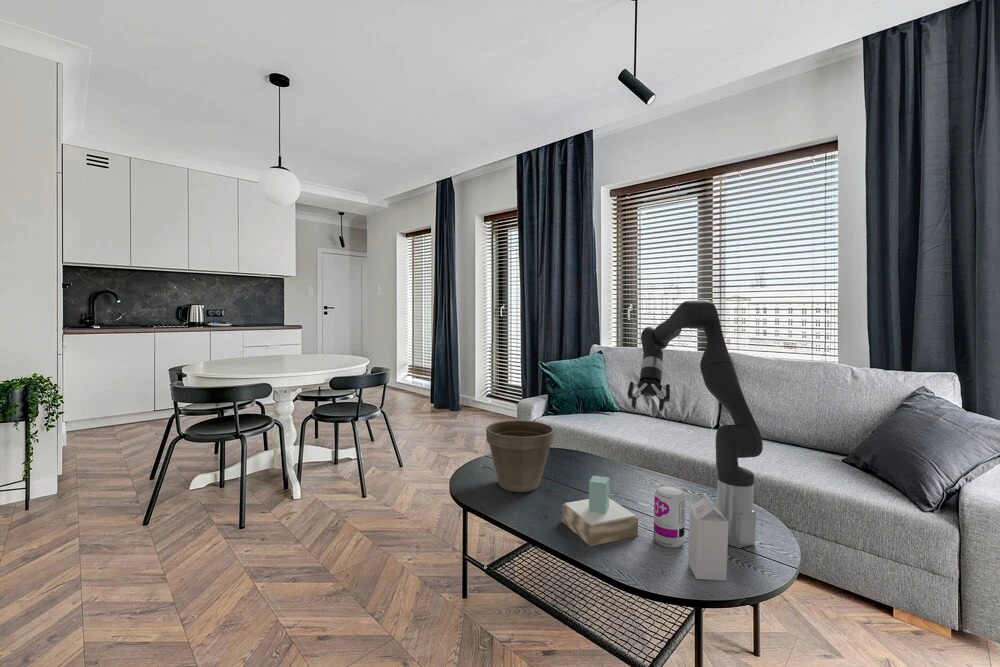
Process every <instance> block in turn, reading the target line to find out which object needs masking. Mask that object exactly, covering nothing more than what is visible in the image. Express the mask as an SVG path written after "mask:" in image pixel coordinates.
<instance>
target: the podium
mask: <svg viewBox="0 0 1000 667" xmlns="http://www.w3.org/2000/svg"><path fill="white" fill-rule="evenodd" d="M561 508H562V510H561V513H562V514H561V516H562V518H561V522H562V523H563V524H564V525H565V526H566V527H568V528H569V529H570V530H571V531H572V532H573V533H574V534H576V535H577V536H578V537H579V538H580V539H581V540H583V542H585V543H586V544H588V546H589V547H593V546H598V545H601V544H602V545H603V544H607V543H611V542H615V541H620V540H624V539H628V538H629V539H630V538H635V537H638V535H639V517H638V516H637V515H636V514H635V513H633V512H632V511H630V510H628V509H627V508H625V507H624V506H623V505H621V504H619V503H617V502H616V501H615V500H613V499H611V498H610V497H609V508H608V510H607V512H606V514H604V513H598V512H592V511H589V498H587V499H582V500H576V501H571V502H570V501H569V502H564V504H562V507H561Z"/></svg>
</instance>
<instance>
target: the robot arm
mask: <svg viewBox="0 0 1000 667" xmlns="http://www.w3.org/2000/svg"><path fill="white" fill-rule="evenodd" d="M682 329H690V330H691V329H693V330H695V329H696V330H697V329H700V330H701V329H702V330H703V331H704V333H705V339H706V345H705V348H704V351H703V354H702V356H701V359H700V363H699V364H700V365H699V369H700V373H701V375H702V379H703V382H704V385H705V388H707V390H708V391H709V393H710V394H711V395H712V396H713V397H714V398H715V399H716V400H717V401H718V402H719V403H720V404H722V405H723V407H724V408H725V409H726V410H727V412H728V413H729V414H730V416H731V419H732V421H733V423H734V424H723V425H720V426H719V427H718V428H717V430H716V434H715V466H716V471H717V489H716V490H717V491H716V493H717V494H716V495H717V496H716V508H717V509H718V510H719V511H720V512H721V513H722V515H723V516H724V517H725V518H726V519H727V521H728V546H730V545H731V547H734V546H735V547H734V548H737V549H739V548H740V549H743V548H742V547H744V548H747V547H746V546H748V547H750V546H749V545H752V544H755V545H756V527H757V526H756V524H757V523H756V522H757V512H756V511H755V510H754V491H755V490H754V489H755V475H754V473H753V472H752V471H751V470H749V469H748V468H745V467H742V466H739V459H742V458H743V459H745V458H748V459H749V458H757V457H759V456H760V455H761V454H762V452H763V446H764V443H763V439H762V435H761V432H760V429H759V427H758V425H757V422H756V421H755V419H754V416H753V414H752V412H751V409H750V408H749V405H748V404H747V400H746V398H745V396H744V393H743V390H742V387H741V384H740V380H739V378H738V375H737V372H736V369H735V367H734V364H733V361H732V358H731V356H730V353H729V350H728V347H727V344H726V341H725V337H724V334H723V330H722V324H721V321H720V317H719V312H718V309H717V307H716V305H715V304H714V302H713V301H711V300H707V299H701V300H699V299H698V300H695V299H694V300H693V299H692V300H691V299H690V300H685V301H683V302H681V303H680V304H679V305H678V306H677V307H676V309H675V310H674V311H673V313H671V315H670V316H669V317H668V318H667V319H665V320H664V321H663V322H661V323H659V324H658V325H657V326H656V327H655V328H654V327H653V326H647V327H645V328H643V329H642V332H641V335H640V343H641V346H642V347H641V348H642V352H643V354H642V362H641V366H640V373H639V381H638V383H636V382H635V383H634V382H633V381H630V382H629V386H628V389H627V398H628V399H629V400H631V408H633V410H636V409H637V402H638V399H639V398H640V399H641V398H642V397H643V396H644V397H655V398H656V399H657V400H658V401H659V404H658V412H662V411H664V410H665V408H664V406H665V403H670V402H671V385H670V384H669V383H666V384H664V385H663V384H662V380H663V379H662V378H663V359H664V358H663V357H664V352H663V350H665V349H666V348H667V346H668V345H669V343H670V341H673V340H674V339H676V338H677V337H678V336H680V334H681V333H682ZM636 389H637V390H636ZM634 390H636V391H635V392H634ZM662 390H663V391H664V392H665V396H664V395H663V394H662V393H661V391H662ZM633 392H634V393H633ZM752 546H753V545H752Z"/></svg>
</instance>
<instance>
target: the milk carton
mask: <svg viewBox="0 0 1000 667" xmlns="http://www.w3.org/2000/svg"><path fill="white" fill-rule="evenodd" d="M688 518H689V521H688V522H689V523H688V526H689V527H688V528H689V529H688V559H687V560H688V562H687V564H688V566H689V568H690V570H691V572H692V573H693V574H692V575H693V576H694V577H695V579H696V580H706V581H722V582H723V581H725V582H726V581H727V574H728V573H727V571H728V569H727V568H728V546H729V545H728V521H727V519H726V518H725V517H724V516H723V515H722V513H721V512H720V511H719V510H718V509H717V506H715V504H714V503H713V501H712V500H711V499H710V497H709V496H707V494H706V493H703V497H702V498H701V499H700V500H698V501H697V502H696V503H694V504H693V505H691V507H689V517H688Z"/></svg>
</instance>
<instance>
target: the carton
mask: <svg viewBox="0 0 1000 667" xmlns="http://www.w3.org/2000/svg"><path fill="white" fill-rule="evenodd" d="M588 483H589V484H588V485H589V486H588V488H589V489H588V499H589V511H592V512H598V513H604V514H606V512H607V510H608V508H609V498H610V483H611V482H610V477H605V476H599V475H592V477H591V478H590V479H589V482H588Z"/></svg>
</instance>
